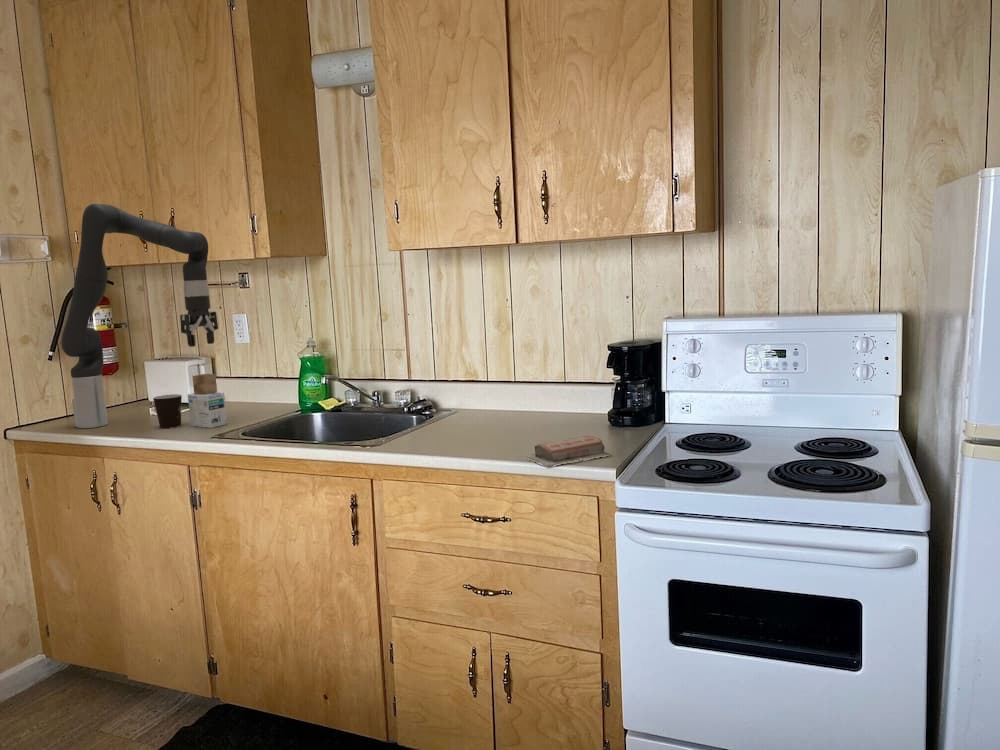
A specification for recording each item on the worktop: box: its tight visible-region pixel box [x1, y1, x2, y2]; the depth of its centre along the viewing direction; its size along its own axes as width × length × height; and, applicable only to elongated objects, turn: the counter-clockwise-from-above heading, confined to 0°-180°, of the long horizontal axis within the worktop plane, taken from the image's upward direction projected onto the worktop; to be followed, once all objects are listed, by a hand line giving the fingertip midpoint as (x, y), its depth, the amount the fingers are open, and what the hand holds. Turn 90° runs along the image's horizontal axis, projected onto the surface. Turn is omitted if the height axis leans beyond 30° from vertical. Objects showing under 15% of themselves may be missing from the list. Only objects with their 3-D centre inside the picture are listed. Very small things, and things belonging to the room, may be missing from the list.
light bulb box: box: [187, 391, 228, 429], centre depth 251 cm, size 11×7×11 cm, turn 58°
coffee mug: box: [152, 393, 183, 429], centre depth 253 cm, size 12×9×10 cm
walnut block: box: [192, 373, 218, 395], centre depth 250 cm, size 5×5×6 cm
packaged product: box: [526, 435, 611, 469], centre depth 186 cm, size 18×5×10 cm
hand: (201, 345), depth 248 cm, fingers open, 8 cm apart
